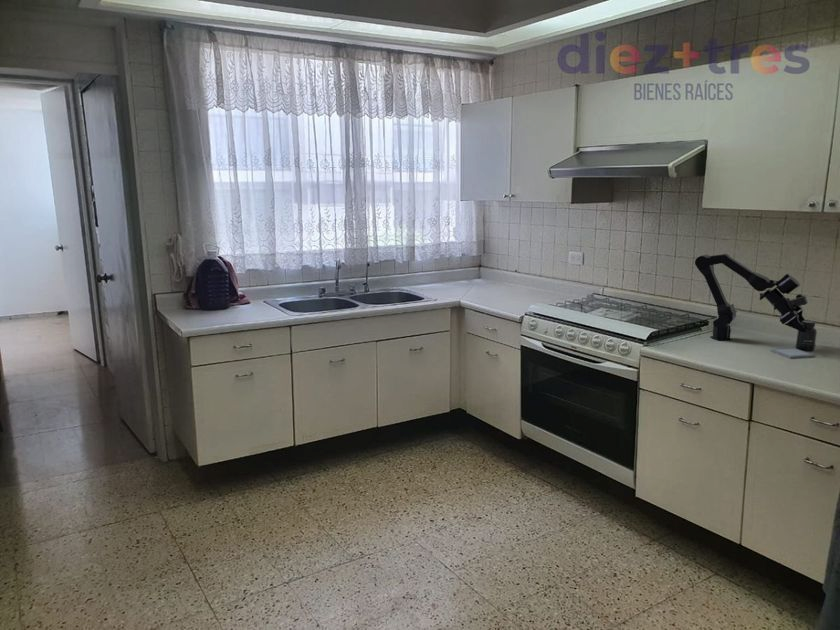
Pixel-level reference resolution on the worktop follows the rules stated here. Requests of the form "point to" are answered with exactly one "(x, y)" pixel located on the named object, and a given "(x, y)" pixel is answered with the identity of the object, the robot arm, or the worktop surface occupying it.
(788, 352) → the plate
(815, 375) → the worktop surface
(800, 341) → the supplement bottle
